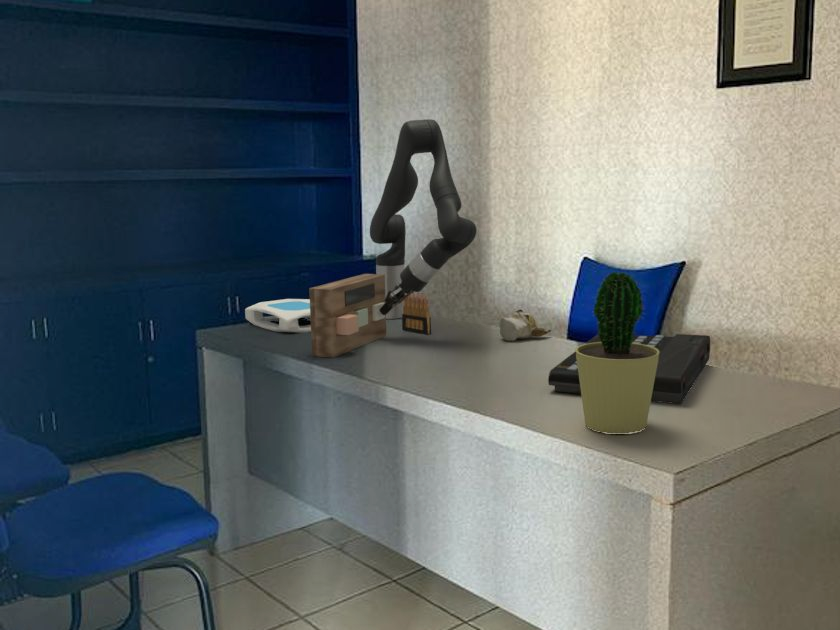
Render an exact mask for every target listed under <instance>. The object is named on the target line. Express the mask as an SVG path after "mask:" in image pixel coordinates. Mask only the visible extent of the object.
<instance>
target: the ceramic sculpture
mask: <svg viewBox="0 0 840 630" xmlns="http://www.w3.org/2000/svg"><path fill="white" fill-rule="evenodd" d="M550 332H552V329H545V328H543V327H539V326H537V324H536V319H535V318H534V316H533V315H532V314H530V313H527V312H525V313H524V312H523V309H517V310H516V311H514V312H513V313H512V315H511V317H505V316H501V318H500V323H499V335H500V337H501V338H502V339H503V340H505V341H506V342H514V341H516V340H517V339H519V340H525V339H529V338H531V337H536V338H537V337H538V338H540V337H542V336H545V335H547V334H549V333H550Z"/></svg>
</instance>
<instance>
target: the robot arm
mask: <svg viewBox="0 0 840 630" xmlns="http://www.w3.org/2000/svg"><path fill="white" fill-rule="evenodd" d="M445 144H446V143H445V141H444V136H443V132H442V129H441V126H440V125H439V123H438V121H436V120H435V119H427V118H426V119H414V120H412V119H411V120H408V121H405V122H404V123H403V124H402V126H401V128H400V131H399V134H398V139H397V144H396V149H395V153H394V157H393V158H394V159H393V161H392V164H391V168H390V171H389V173H388V176H387V179H386V182H385V185H384V188H383V191H382V195H381V198H380V201H379V203H378V206H377V208H376V210H375V212H374V214H373V215H372V218H371V221H370V224H369V225H370V226H369V236H370V239H371V240H372V242H373V243H375V244H378V245H382V244H383V245H385V244H386V245H387V244H391V245H390V248H389V249H388V250H386V251H384V252H383V253H380V254H377V256H376V257H375V264H376V265H375V269H376V274H382V275H385V304H384V305H383V306H382V307H381V308H380V312H381V313H382V314H383V315H386V320H391V319H392V320H394V319H395V320H397V319H402V314H403V303H404V300H405V299H406V298H408V296H409V295H411V296H412V295H413V292H414V293H420V292H421V291H422V290H423V289H424V288H425V287H426V285H428V284H429V283H430V281H431V280H433V278H434V277H435V276H436V275H437V274H438V272H439V271H440V270H441V268H442V267H443V266H444V265H445V264H447V262H448V261H449V260H450V259H451V258H453V257H455V256H456V255H457V254H459V253H460V252H461V251H464V250H465V249H466V248H468V247H469V246H470V245H471V244H472V242H473V241H474V240H475V238H476V235H477V225H476V224H475V223H474V221H472V220H471V219H468V218H464V217H463V216H460V215H459V212H460V210H461V208H462V201H461V197H460V195H459V192H458V191H457V187H456V185H455V181H454V179H453V176H452V173H451V168H450V167H451V166H450V164H449V163H450V162H449V158H448V153H447V148H446V146H445ZM425 153H429V154H430V153H431V155H432V157H433V169H432V173H431V175H430V180H429V192H430V194H431V195H430V196H431V198H432V201H433V203H434V206H435V208H436V217H437V226H438V231H439V233H440V235H441V236H442V237H441V238H434V239H432V240H431V241H429V242H428V243H427V244H426V246H425V247H424V248H423V249H422V250H421V251H420V252H419V253H418V254H417V255H415V257H414V258H413V259H412V260H411V261H409V263H408V264H407V266H406V265H405V260H406V259H405V258H406V221H405V219H404V216H403V215H402V214H399V213H398V212H400V211H402V210H403V209H404V208H406V207H407V205H409V204H410V203H411V201H412V200H413V199H414V196H415V194H416V190H417V189H418V186H419V177H418V174H417V171H416V170H415V168H414V166H413V164H412V162H411V159H412V157H413V156H414V155H417V154H425ZM397 213H398V214H397Z"/></svg>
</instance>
